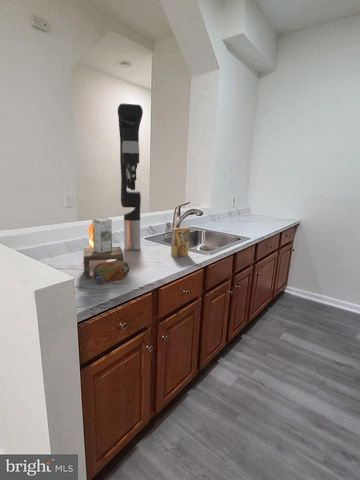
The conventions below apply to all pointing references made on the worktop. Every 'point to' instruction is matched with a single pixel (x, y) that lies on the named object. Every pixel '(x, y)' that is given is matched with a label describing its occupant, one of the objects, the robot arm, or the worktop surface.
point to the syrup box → (102, 235)
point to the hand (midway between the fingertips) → (131, 189)
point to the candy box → (180, 242)
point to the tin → (110, 271)
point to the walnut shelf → (99, 257)
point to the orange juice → (91, 236)
